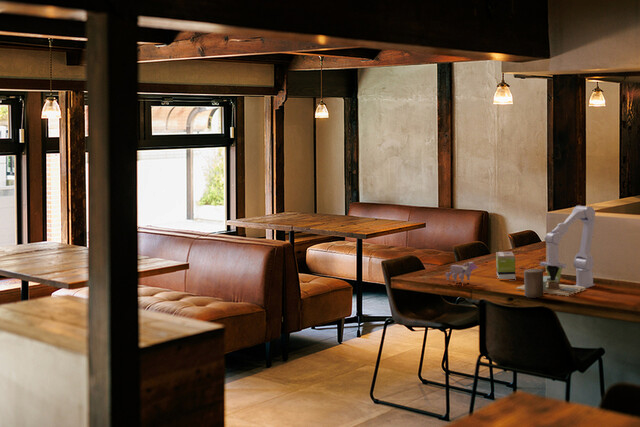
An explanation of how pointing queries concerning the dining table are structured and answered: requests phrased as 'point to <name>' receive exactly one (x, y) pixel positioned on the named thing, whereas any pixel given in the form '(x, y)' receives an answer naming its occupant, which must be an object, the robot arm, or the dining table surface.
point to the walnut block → (553, 285)
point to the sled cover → (547, 279)
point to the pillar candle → (533, 283)
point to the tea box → (505, 265)
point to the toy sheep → (461, 271)
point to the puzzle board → (559, 289)
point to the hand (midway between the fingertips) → (553, 280)
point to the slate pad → (568, 289)
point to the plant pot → (556, 275)
